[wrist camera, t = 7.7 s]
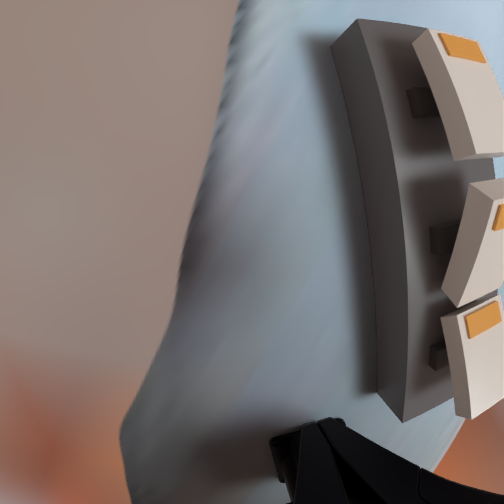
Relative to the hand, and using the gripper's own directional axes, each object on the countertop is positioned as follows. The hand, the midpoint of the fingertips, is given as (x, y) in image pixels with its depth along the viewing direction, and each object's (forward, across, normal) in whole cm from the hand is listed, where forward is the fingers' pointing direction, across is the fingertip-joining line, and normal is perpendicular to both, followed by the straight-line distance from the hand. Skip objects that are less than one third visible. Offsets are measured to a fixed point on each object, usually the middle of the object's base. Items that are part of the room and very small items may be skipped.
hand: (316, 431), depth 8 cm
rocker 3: (+6, -13, +6) cm, 16 cm away
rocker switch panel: (+13, -13, -1) cm, 18 cm away
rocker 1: (+6, -13, -10) cm, 18 cm away
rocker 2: (+6, -13, -2) cm, 15 cm away
